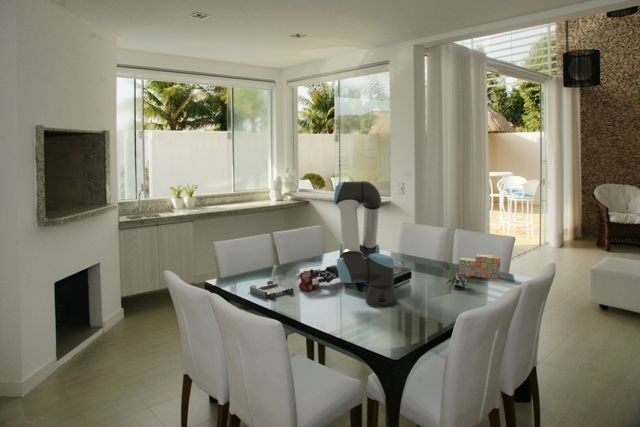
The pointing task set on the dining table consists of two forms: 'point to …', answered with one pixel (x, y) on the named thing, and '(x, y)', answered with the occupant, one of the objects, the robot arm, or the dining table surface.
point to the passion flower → (458, 279)
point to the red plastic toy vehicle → (308, 281)
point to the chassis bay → (269, 290)
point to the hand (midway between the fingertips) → (304, 279)
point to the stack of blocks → (481, 266)
